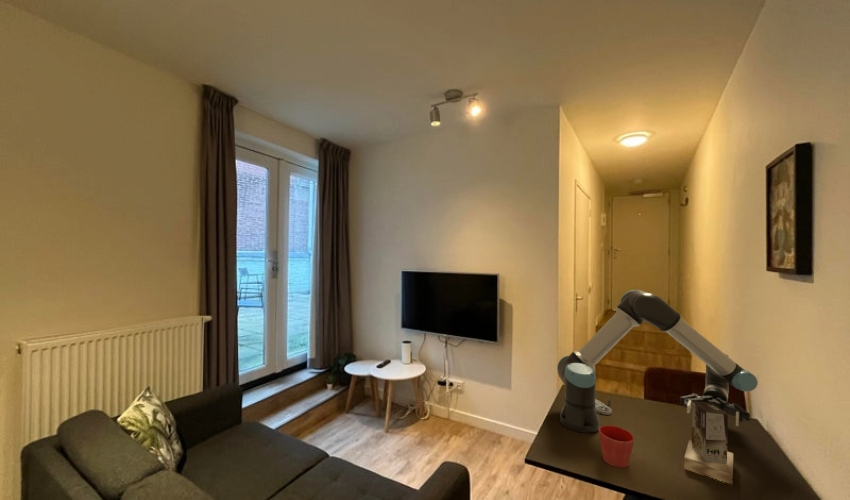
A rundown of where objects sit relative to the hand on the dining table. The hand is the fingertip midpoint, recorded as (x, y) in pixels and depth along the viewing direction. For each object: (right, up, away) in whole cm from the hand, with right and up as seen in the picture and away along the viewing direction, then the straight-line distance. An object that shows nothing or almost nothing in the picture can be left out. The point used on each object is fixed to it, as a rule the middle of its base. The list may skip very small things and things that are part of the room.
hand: (711, 415), depth 126 cm
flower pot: (-37, -14, -5) cm, 40 cm away
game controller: (-20, -14, +36) cm, 44 cm away
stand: (-7, -14, -8) cm, 17 cm away
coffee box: (-7, -10, -8) cm, 14 cm away
